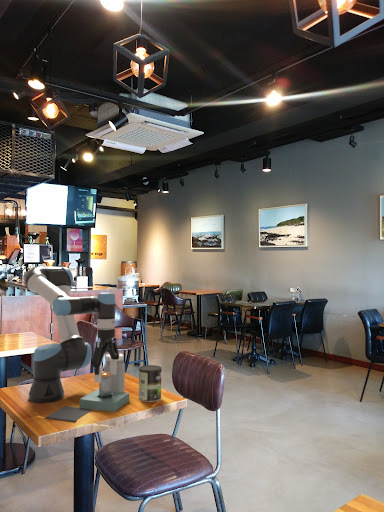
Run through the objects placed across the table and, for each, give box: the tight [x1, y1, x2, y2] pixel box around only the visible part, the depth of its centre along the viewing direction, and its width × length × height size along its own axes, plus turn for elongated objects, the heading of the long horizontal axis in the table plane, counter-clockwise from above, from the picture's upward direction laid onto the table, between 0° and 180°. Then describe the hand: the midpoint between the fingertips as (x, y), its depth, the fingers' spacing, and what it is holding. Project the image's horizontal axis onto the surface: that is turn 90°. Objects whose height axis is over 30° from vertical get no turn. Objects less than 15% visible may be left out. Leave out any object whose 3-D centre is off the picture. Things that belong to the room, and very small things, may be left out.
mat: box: [45, 405, 94, 423], centre depth 162 cm, size 13×13×1 cm
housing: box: [79, 389, 130, 413], centre depth 174 cm, size 16×14×4 cm
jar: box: [103, 352, 126, 393], centre depth 190 cm, size 10×10×18 cm
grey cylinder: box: [98, 371, 111, 399], centre depth 174 cm, size 5×5×13 cm
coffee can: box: [138, 364, 163, 403], centre depth 183 cm, size 10×10×14 cm
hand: (105, 378), depth 174 cm, fingers open, 13 cm apart
